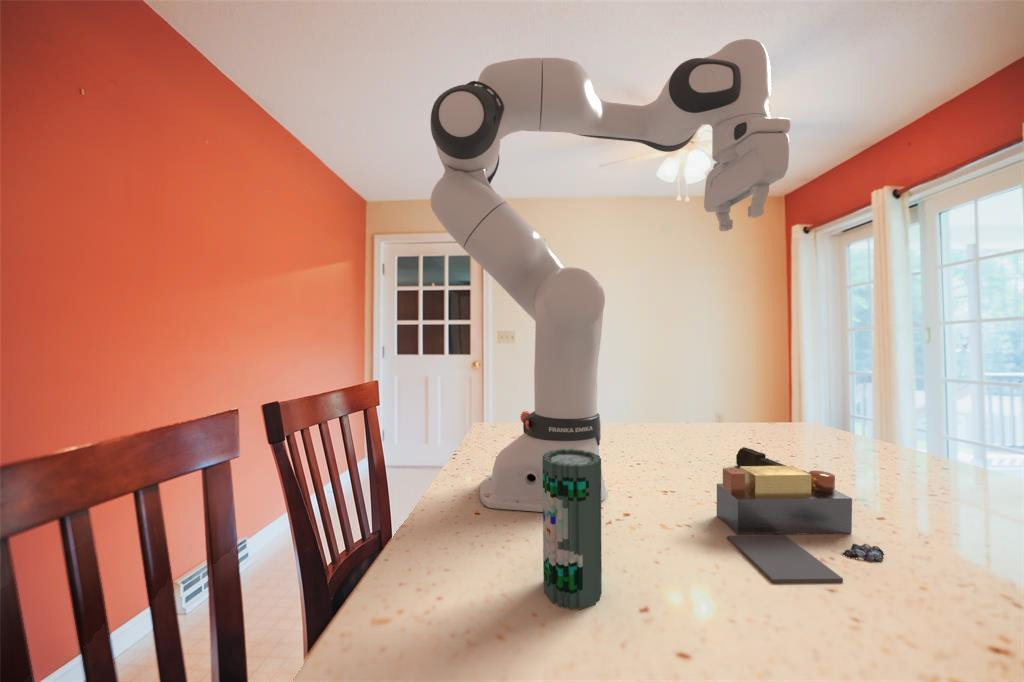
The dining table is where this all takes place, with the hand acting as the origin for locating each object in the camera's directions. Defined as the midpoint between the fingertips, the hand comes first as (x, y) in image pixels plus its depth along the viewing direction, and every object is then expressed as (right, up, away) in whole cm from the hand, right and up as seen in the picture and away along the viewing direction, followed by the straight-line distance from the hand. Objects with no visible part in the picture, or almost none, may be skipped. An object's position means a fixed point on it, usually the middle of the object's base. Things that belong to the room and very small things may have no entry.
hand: (739, 223), depth 73 cm
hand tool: (+10, -47, +6) cm, 49 cm away
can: (-33, -49, -26) cm, 64 cm away
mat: (-6, -48, -20) cm, 52 cm away
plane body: (0, -48, -11) cm, 49 cm away
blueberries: (+5, -48, -19) cm, 52 cm away
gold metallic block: (-1, -43, -12) cm, 44 cm away
